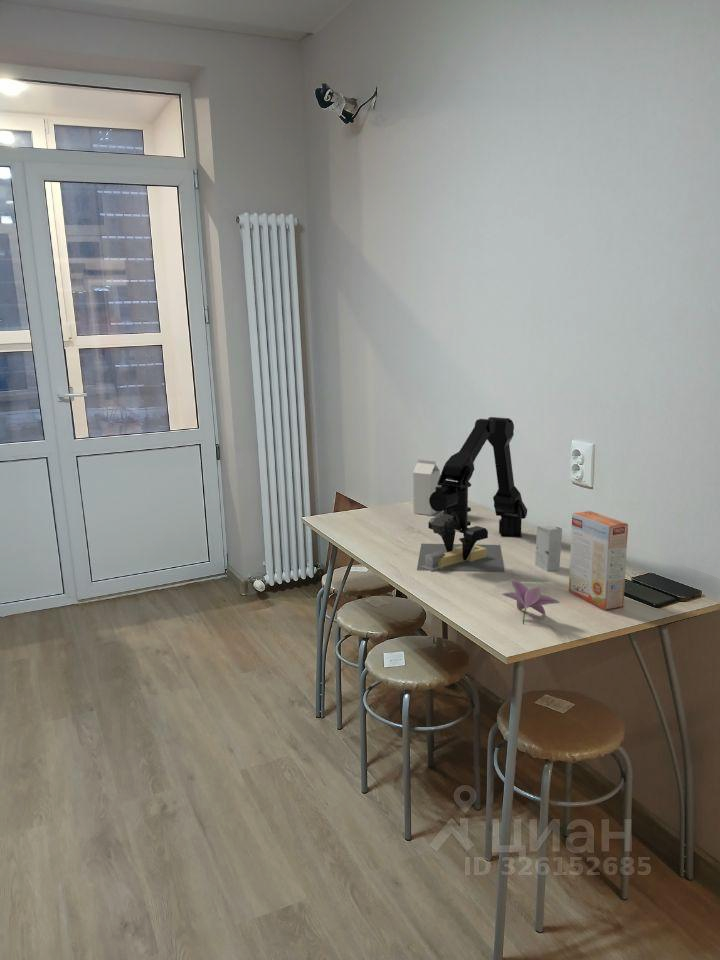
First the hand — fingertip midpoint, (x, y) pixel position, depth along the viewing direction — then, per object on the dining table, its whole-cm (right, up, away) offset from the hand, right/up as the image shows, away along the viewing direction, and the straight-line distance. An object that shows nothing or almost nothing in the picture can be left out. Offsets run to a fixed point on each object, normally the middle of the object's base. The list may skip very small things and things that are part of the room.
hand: (457, 557), depth 215 cm
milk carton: (-4, +10, +55) cm, 56 cm away
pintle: (+4, 0, +3) cm, 6 cm away
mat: (+1, -1, +3) cm, 4 cm away
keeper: (-8, -2, -6) cm, 10 cm away
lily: (+11, -10, -40) cm, 43 cm away
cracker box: (+30, -8, -30) cm, 43 cm away
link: (0, -1, 0) cm, 1 cm away
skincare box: (+24, -3, -7) cm, 25 cm away
